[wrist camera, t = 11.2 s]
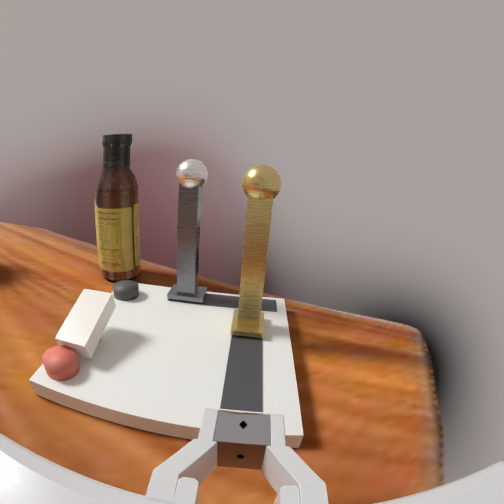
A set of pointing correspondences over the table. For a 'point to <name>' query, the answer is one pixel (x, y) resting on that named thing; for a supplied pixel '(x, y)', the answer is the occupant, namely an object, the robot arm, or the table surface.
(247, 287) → the brass lever
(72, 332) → the block
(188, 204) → the graphite lever
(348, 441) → the table surface
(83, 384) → the panel
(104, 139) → the sauce bottle
